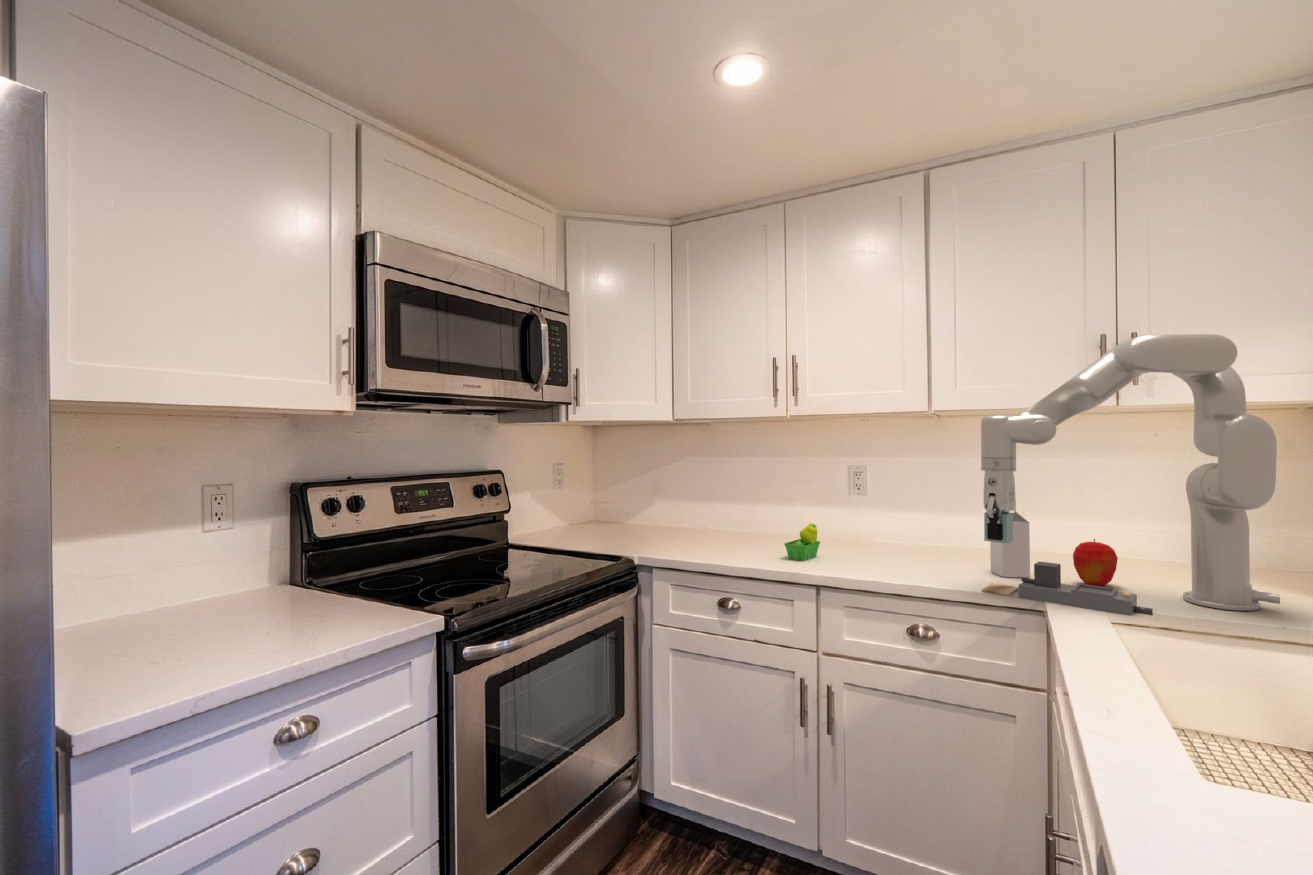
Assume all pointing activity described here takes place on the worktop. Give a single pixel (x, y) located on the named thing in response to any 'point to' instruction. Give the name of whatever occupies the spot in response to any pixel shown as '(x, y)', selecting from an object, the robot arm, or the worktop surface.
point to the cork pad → (1000, 589)
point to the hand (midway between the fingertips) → (998, 537)
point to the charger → (1007, 527)
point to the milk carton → (1013, 551)
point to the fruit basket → (804, 544)
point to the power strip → (1076, 592)
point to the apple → (1095, 563)
